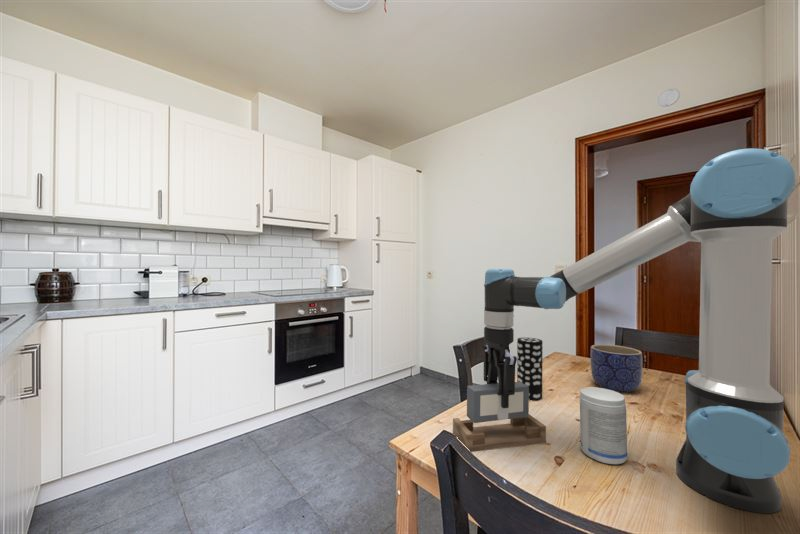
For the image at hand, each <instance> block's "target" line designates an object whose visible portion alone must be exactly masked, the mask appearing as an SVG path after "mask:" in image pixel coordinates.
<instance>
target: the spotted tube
mask: <svg viewBox="0 0 800 534" xmlns="http://www.w3.org/2000/svg"><path fill="white" fill-rule="evenodd" d="M516 340H517V342H516V343H517V345H516V346H517V347H516V348H517V349H516V350H517V351H516V352H517V356H516V358H517V361H516V368H517V370H516V372H517V374H516V376H517V377H516V378H517V379H516V380H517V381H516V382H521V383H523V384H525V385H527V386H529V401H530V400H532V401H534V402H535V401H537V402H538V401H542V400H543V354H544V353H543V347H544V346H543V340H542V339H539V338H536V337H518V338H517V339H516Z"/></svg>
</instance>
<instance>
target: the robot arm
mask: <svg viewBox="0 0 800 534" xmlns="http://www.w3.org/2000/svg"><path fill="white" fill-rule="evenodd" d="M795 185H796V172H795V170H794V166H793V165H792V164H791V162H790V161H789V160H788V159H787V158H786V157H785V156H782V155H781V154H779V153H777V152H775V151H772V150H768V149H763V148H751V147H750V148H741V149H736V150H731V151H727V152H725V153H722V154H720V155H718V156H716V157H714V158H712V159H710V160H709V161H708V162H706V163H705V164H704V165H703V166H702V167H701V168H700V169H699V170H698V171H697V172H696V174H695V176H694V177H693V179H692V181H691V183H690V185H689V186H690V189H689V193H688V194H687V195H686V196H684V197H682V198H681V199H680V200H678V201H677V202H675V203H673V204H671V205H670V206H669V207H668V209H667V212H666V213H665V214H663V215H660V216H659V217H657V218H656V219H653V220H652V221H650V222H648V223H646V224H644V225H642V226H641V227H638V228H637V229H635V230H633V231H631V232H630V233H628V234H625V235H624V236H622V237H620V238H618V239H616V240H615V241H613V242H611V243H609V244H607V245H606V246H604V247H601V248H600V249H597V250H596V251H594V252H593V253H591V254H589V255H587V256H585V257H583V258H581V259H579V260H578V261H576V262H574V263H572V264H571V265H569V266H567V267H564V268H563V269H562V270H559V271H557V272H555V273H554V274H552V275H550V276H544V277H543V276H538V277H537V276H517V275H515V271H514V269H512V268H511V269H510V268H508V269H507V268H489V269H487V270H486V271H485V275H484V284H483V287H484V311H483V319H484V320H483V324H484V329H483V340H484V341H486V342H487V344H485V345H484V344H483V345H482V352H483V382H486V384H496V383H499V393H497V419H498V420H497V421H503V420H506V421H507V420H509V419H508V407H509V395H514V394H515V382H516V366H517V356H515V355H512V354H511V350H510V344H512V343H514V338H515V337H514V335H515V334H514V328H513V327H514V317H515V315H514V310H515V307H526V308H527V307H528V308H538V309H544V310H560V309H562V308H563V307H564V305H565V304H566V302H567V301H569V300H570V299H572V298H573V297H575V296H578V295H579V294H582V293H584V292H586V291H588V290H589V289H592V288H594V287H597V286H598V285H601V284H602V283H604V282H606V281H609V280H611V279H612V278H613V279H614V278H615V277H618V276H620V275H621V274H623V273H626V272H628V271H630V270H632V269H634V268H636V267H638V266H641V265H642V264H645V263H646V262H648V261H650V260H651V261H652V260H653V259H656V258H658V257H659V256H661V255H664V254H665V253H667V252H670V251H672V250H673V249H676V248H678V247H680V246H683V245H684V244H686V243H688V242H694V243H695V242H697V243H701V245H700V246H701V247H700V284H699V285H700V286H699V287H700V289H699V290H700V291H699V293H700V294H699V295H700V296H699V299H700V300H699V304H700V305H699V337H698V338H699V339H698V340H699V341H698V344H699V345H698V370H697V369H691V370H688V371H687V372H686V374H685V380H684V384H685V426H684V429H685V435H686V436H685V440H684V442H683V444H682V447H681V449H680V451H679V453H678V455H677V457H676V460H675V473H676V476H678V478H679V479H680V480H681V482H684V484H685V485H687V486H688V487H690V488H692V489H693V491H696V492H698V493H699V494H701V495H703V496H705V497H707V498H709V499H712V500H713V501H715V502H719V503H722V504H724V505H726V506H730V507H733V508H735V509H739V510H743V511H747V512H753V513H759V514H773V513H776V512H778V511H781V509H782V494H781V491H780V489H779V487H778V484H777V482H776V478H775V477H776V476H778V475H779V474H781V473H782V472H783V471H784V470H785V469H787V467H788V465H789V463H790V458H791V447H790V445H789V441H788V440H787V437H786V436H785V435H784V399H785V397H784V396H783V395H782V394H780V393H779V392H778V391H777V390H776V389H775V388H774V387H772V385H771V384H770V379H771V378H770V377H771V375H770V374H771V373H770V371H771V366H770V365H771V332H772V331H771V326H772V323H771V322H772V282H773V281H772V275H773V274H772V273H773V272H772V271H773V269H772V268H773V241H774V240H775V238H777V237H778V236H780V235H781V234H783V233H785V232H786V231H787V230H788V221H787V220H788V200H789V198H790V196H791V194H792V192H793V191H794V188H795ZM774 476H775V477H774Z"/></svg>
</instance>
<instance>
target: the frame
mask: <svg viewBox="0 0 800 534" xmlns="http://www.w3.org/2000/svg"><path fill="white" fill-rule="evenodd" d="M497 393H499V382H498V383H496V384H487V383H485V384H473V385H467V386H466V417H467V418H468V420H471V421H472V422H473V424H479V423H486V422H488V423H489V422H496V421H499V420H498V419H497ZM529 402H530V400H529V386H527V385H525V384H523V383H521V382H517V381H515V394H514V395H509V407H508V419H507V420H510V419H514V418H523V417H529V414H530V413H529V412H530V411H529V407H530V404H529Z"/></svg>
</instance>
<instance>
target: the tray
mask: <svg viewBox="0 0 800 534" xmlns="http://www.w3.org/2000/svg"><path fill="white" fill-rule="evenodd" d="M509 420H510V421H509V423H502V424H501V423H499V424H493V425H491V424H490V425H484V426H483V425H482V426H481V425H480V426H474V423H473V422H472V421H471V420H470V419H465V420H464V419H463V420H461V419H460V418H459V417H453V418H452V435H453V434H455V435H456V436H457V437H458V439H459V440H460V441H461V442H462V443H463V444H464V445H465V446H466V447H467V448H468V449H469V450H470V451H471V452H480V451H488V450H496V449H497V450H498V449H504V448H505V449H506V448H513V447H521V446H527V445H528V446H529V445H536V444H537V445H539V444H546V443H547V426H546V424H544V423H542V422H541V421H539V420H538V419H537V418H535V417H534V416H532V415H531V414H530V413H529V417H523V418H514V419H509ZM471 452H470V453H471Z"/></svg>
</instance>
